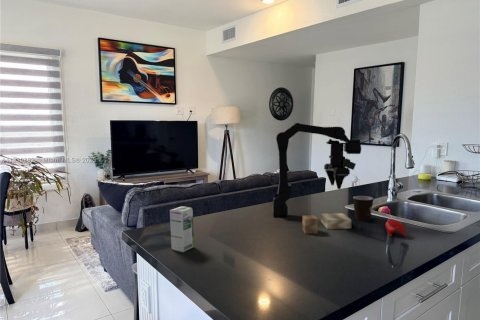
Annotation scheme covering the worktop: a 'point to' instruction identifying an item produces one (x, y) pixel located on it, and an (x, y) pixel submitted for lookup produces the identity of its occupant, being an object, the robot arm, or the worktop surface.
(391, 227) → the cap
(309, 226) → the walnut block
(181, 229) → the syrup box
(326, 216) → the birch block
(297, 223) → the worktop surface
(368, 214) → the coffee mug
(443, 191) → the worktop surface
